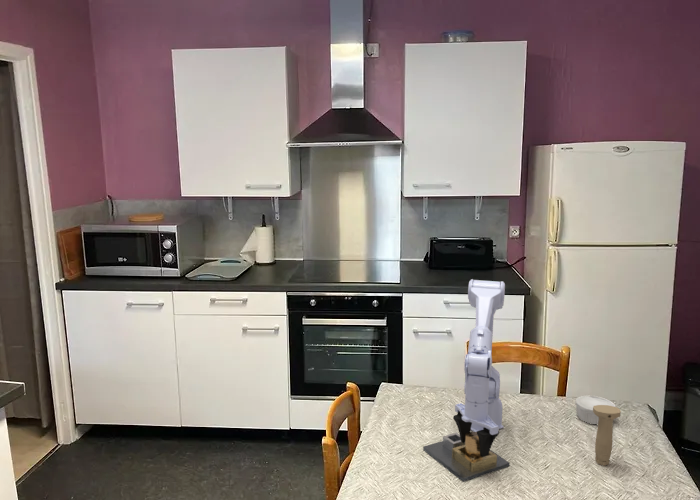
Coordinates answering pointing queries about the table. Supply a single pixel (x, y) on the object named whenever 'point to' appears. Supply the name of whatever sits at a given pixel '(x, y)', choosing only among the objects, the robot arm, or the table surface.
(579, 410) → the ramekin
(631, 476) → the table surface
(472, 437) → the cylindrical peg
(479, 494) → the table surface
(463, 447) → the fitting plate
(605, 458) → the handle
